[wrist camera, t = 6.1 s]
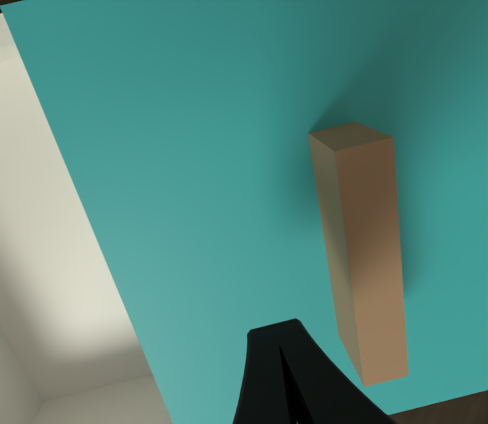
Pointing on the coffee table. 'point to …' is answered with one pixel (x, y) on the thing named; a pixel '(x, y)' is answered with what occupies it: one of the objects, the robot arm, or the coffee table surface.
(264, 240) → the lid
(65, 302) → the mailer box
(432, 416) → the coffee table surface
